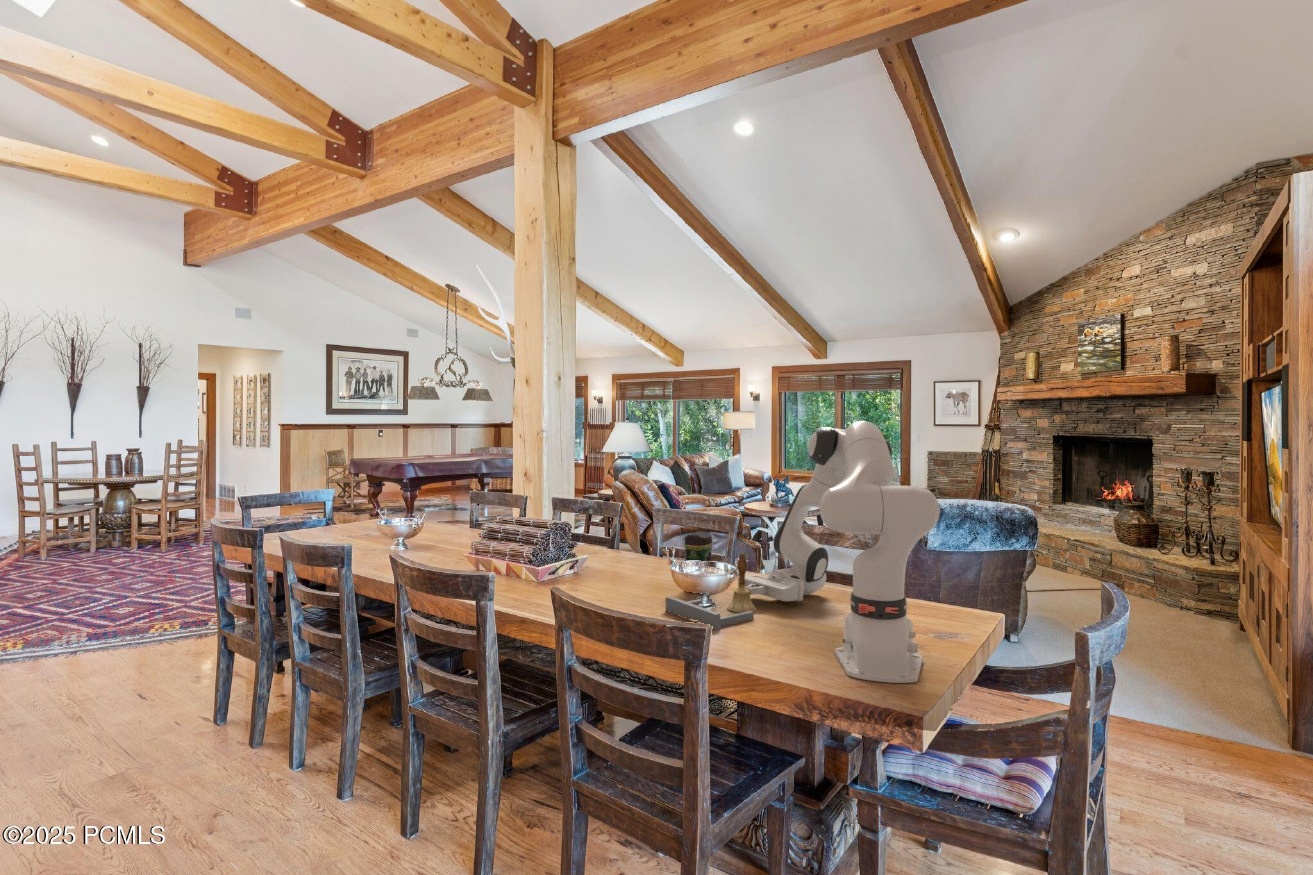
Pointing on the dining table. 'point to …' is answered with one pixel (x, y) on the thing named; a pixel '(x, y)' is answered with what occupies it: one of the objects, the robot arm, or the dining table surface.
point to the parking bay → (704, 613)
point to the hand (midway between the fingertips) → (747, 590)
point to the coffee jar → (698, 546)
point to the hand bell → (741, 591)
